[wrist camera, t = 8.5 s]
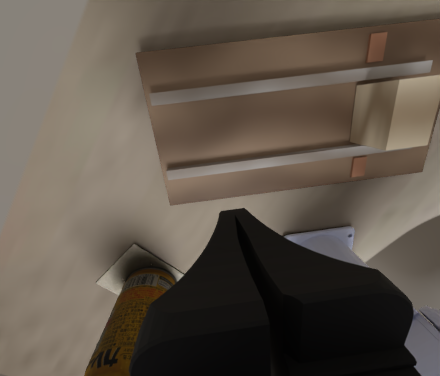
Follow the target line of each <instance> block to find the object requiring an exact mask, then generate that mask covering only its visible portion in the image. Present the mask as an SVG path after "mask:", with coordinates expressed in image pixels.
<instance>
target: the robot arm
mask: <svg viewBox="0 0 440 376" xmlns="http://www.w3.org/2000/svg"><path fill="white" fill-rule="evenodd" d="M354 233H355V229H354V228H353V227H351V226H348V227H341V228H334V229H326V230H319V231H312V232H305V233H298V234H291V235H286V236H284V237H283V236H281V235H279V234H278V233H276V232H274V231H273V230H271V229H270V228H268V227H267V226H265V225H264V224H263V223H262V222H260V221H259V220H258V219H256V218H255V217H254V216H253V215H252V214H251V213H249V212H248V211H247V210H246V209H245V208H241V209H234V210H226V211H221V212H220V213H219V219H218V222H217V225H216V228H215V230H214V233H213V235H212V237H211V239H210V240H209V242H208V244H207V246H206V248H205V249H204V251H203V252H202V254H201V255H200V257H199V258H198V259H197V260H196V262H195V263H194V264H193V266H192V267H191V268H190V269H189V270H188V271H187V272H186V273H185V274H184V275H183V276H182V277H181V278H180V280H179V281H177V282H176V283H175V284H174V285H173V286H172V287H171V288H170V289H168V290H167V291H166V292H165V293H163V294H162V295H161V296H160V297H159V298H157V299H156V300H155V301H153V302H152V303H151V304H150V306H149V308H148V310H147V313H146V315H145V318H144V320H143V322H142V325H141V327H140V330H139V333H138V336H137V339H136V343H135V346H134V350H133V354H132V357H131V361H130V366H129V374H130V376H440V309H436V308H430V307H429V306H426V305H425V306H423V307H421V308H420V309H419V311H420V312H421V313H422V314H423V315H424V316H425V317H426V318H427V319H428V320H429V321H430V322H431V323H432V324H433V326H434V327H433V326H432V325H431V324H430V323H429V322H428V321H427V320H426V319H425V318H424V317H423V316H422V315H420V314H419V312H417V311H416V310H415V309H414V308H413V306H412V302H411V301H410V300H409V299H408V297H407V296H406V295H405V294H404V293H403V292H401V290H399V289H398V288H397V287H396V286H395V285H394V284H393V283H392V282H391V281H390V280H389V279H388V278H387V277H385V276H384V275H383V274H382V273H381V272H380V271H379V270H376V269H372V268H369V267H368V266H367V265H366V264H365V263H364V262H363V261H362V260H361V259H360V258H359V257H358V256H357V255H356V254H355V253H354V252H353V251H352V245H353V239H354Z"/></svg>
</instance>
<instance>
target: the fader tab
mask: <svg viewBox="0 0 440 376" xmlns="http://www.w3.org/2000/svg"><path fill="white" fill-rule="evenodd" d="M439 101H440V75H435V76H426V77H418V78H410V79H401V80H394V81H386V82H379V83H372V84H365V85H357V87H356V95H355V103H354V111H353V119H352V127H351V135H350V142H352V143H356V144H360V145H364V146H369V147H373V148H377V149H381V150H385V151H387V150H395V149H403V148H410V147H418V146H426V145H428V141H429V138H430V134H431V130H432V127H433V123H434V119H435V115H436V112H437V108H438V104H439Z"/></svg>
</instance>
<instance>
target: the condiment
mask: <svg viewBox="0 0 440 376" xmlns="http://www.w3.org/2000/svg"><path fill="white" fill-rule="evenodd" d="M151 264H152V265H151ZM182 276H183V274H182V273H180V272H179V271H177V270H176V269H174V268H172V267H171V266H169V265H168V264H166V263H164V262H162V261H160V260H159V259H158V258H156V257H155V256H153V255H152V254H150V253H149V252H147V251H145V250H143V249H141V248H140V247H138V246H137V245H135V244H133V245H132V246H131V248H129V249H128V250H127V251H126V252H125V253H124V254H123V255H122V257H120V258H119V259H118V260H117V262H116V263H115V264H114V265H113V266H111V268H110V269H109V270H108V271H107V272H106V273H105V274H104V275H103V276H102V277H101V278H100V279H99V280H98V281H97V282H96V283H97V284H99V285H100V286H102V287H104V288H106V289H108V290H109V291H111V292H113V293H115V294H117V295H118V296H119V297H118V298H117V301H116V303H115V306H114V308H113V310H112V312H111V315H110V317H109V320H108V322H107V324H106V326H105V328H104V331H103V333H102V335H101V337H100V340H99V342H98V343H97V346H96V349H95V350H94V353H93V355H92V357H91V359H90V361H89V364H88V366H87V369H86V371H85V375H84V376H130V374H129V366H130V361H131V357H132V354H133V350H134V346H135V343H136V339H137V336H138V333H139V330H140V327H141V325H142V322H143V320H144V318H145V315H146V313H147V310H148V308H149V306H150V304H151V303H152V302H153V301H155V300H156V299H157V298H159V297H160V296H161V295H162V294H163V293H165V292H166V291H167V290H168V289H170V288H171V287H172V286H173V285H174V284H175V283H176V282H177V281H179V280H180V278H181V277H182ZM122 278H123V279H124V281H125V283H123V280H122Z"/></svg>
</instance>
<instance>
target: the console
mask: <svg viewBox="0 0 440 376" xmlns="http://www.w3.org/2000/svg"><path fill="white" fill-rule="evenodd" d="M136 58H137V62H138V66H139V71H140V75H141V80H142V84H143V88H144V93H145V97H146V101H147V106H148V110H149V115H150V119H151V123H152V128H153V132H154V137H155V141H156V145H157V150H158V154H159V159H160V163H161V167H162V172H163V176H164V181H165V185H166V189H167V194H168V198H169V202H170V205H178V204H185V203H193V202H200V201H208V200H215V199H223V198H230V197H238V196H245V195H253V194H260V193H268V192H275V191H283V190H290V189H298V188H305V187H313V186H320V185H328V184H335V183H343V182H350V181H358V180H365V179H373V178H380V177H388V176H395V175H403V174H410V173H418V172H422V171H423V167H424V163H425V160H426V156H427V152H428V149H429V145H430V142H431V138H432V134H433V131H434V127H435V123H436V120H437V116H438V112H439V109H440V101H439V104H438V108H437V112H436V115H435V119H434V123H433V127H432V130H431V134H430V138H429V141H428V145H426V146H418V147H410V148H403V149H395V150H387V151H385V150H381V149H377V148H373V147H369V146H364V145H360V144H356V143H352V142H350V135H351V127H352V119H353V111H354V103H355V95H356V87H357V85H365V84H372V83H379V82H386V81H394V80H401V79H410V78H418V77H426V76H435V75H440V19H432V20H423V21H414V22H405V23H396V24H387V25H379V26H370V27H361V28H352V29H343V30H334V31H325V32H316V33H307V34H298V35H290V36H281V37H272V38H263V39H254V40H245V41H236V42H227V43H218V44H209V45H201V46H192V47H183V48H174V49H165V50H156V51H147V52H138V53H136Z"/></svg>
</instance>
